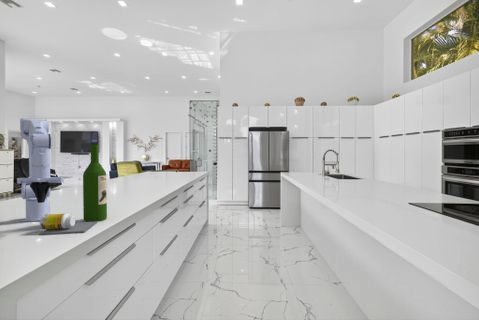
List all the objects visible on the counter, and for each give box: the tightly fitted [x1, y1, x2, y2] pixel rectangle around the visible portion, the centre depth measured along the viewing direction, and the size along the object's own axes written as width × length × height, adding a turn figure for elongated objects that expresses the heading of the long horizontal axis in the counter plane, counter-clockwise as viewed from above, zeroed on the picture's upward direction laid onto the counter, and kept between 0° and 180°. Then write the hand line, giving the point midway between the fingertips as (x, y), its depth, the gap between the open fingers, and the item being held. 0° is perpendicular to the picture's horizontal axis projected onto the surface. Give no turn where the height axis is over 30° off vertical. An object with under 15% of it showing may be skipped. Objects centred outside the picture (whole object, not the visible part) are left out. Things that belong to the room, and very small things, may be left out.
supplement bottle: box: [39, 213, 76, 231], centre depth 99 cm, size 6×6×10 cm
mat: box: [39, 221, 98, 236], centre depth 101 cm, size 14×14×1 cm
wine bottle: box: [82, 144, 108, 223], centre depth 115 cm, size 9×9×32 cm
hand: (41, 202), depth 99 cm, fingers closed
